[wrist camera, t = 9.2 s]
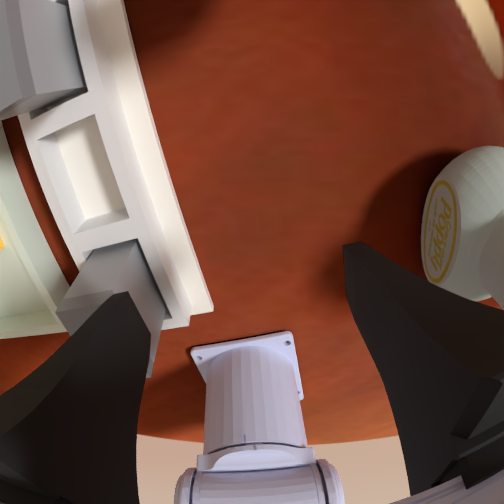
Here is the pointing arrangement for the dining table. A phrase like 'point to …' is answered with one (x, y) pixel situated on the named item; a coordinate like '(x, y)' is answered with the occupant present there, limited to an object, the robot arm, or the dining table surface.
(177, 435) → the dining table surface
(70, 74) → the block
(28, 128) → the fuse holder
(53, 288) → the tray
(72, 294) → the block
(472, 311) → the robot arm
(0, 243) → the block
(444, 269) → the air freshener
